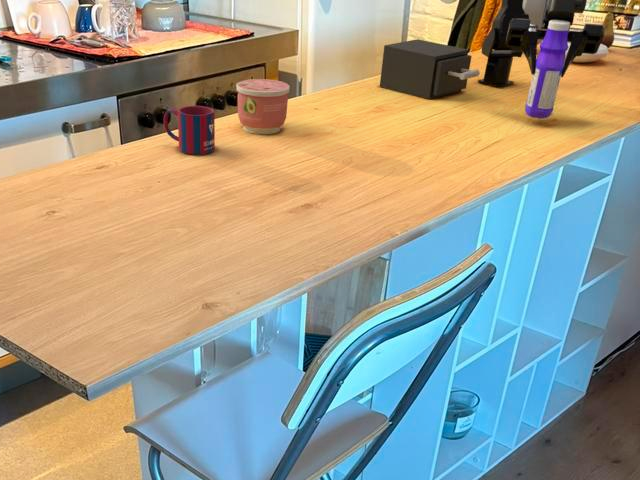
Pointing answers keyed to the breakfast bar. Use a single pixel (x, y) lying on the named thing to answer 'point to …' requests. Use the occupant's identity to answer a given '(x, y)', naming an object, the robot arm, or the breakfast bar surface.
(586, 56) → the vase
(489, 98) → the breakfast bar surface
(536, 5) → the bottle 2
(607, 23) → the fruit
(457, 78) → the pull-out drawer box
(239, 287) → the breakfast bar surface
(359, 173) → the breakfast bar surface
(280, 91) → the container
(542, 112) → the bottle
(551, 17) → the robot arm
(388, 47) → the dark drawer cabinet casing
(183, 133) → the mug
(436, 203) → the breakfast bar surface
